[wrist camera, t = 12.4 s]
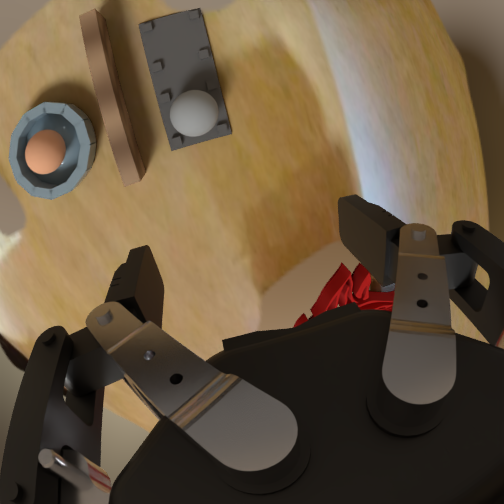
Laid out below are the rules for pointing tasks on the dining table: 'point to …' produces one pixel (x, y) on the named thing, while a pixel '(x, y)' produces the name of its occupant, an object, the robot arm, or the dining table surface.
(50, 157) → the ball
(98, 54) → the rail
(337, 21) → the dining table surface
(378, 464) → the robot arm
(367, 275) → the decorative sculpture
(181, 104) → the grey ball
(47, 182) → the dish
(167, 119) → the tray
